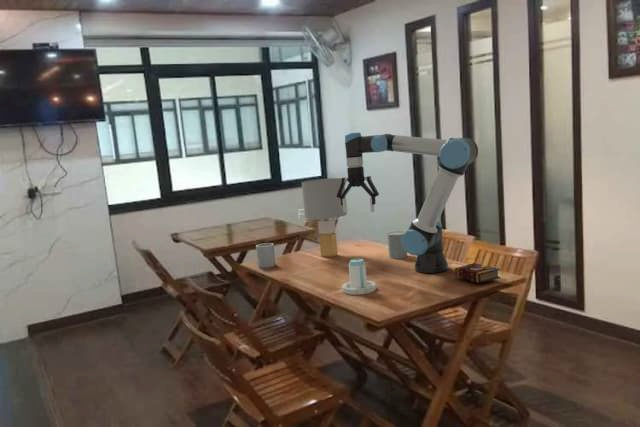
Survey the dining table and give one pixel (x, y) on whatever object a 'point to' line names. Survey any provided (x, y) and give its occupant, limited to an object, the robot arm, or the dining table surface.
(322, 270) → the dining table surface
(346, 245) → the dining table surface
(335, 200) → the lamp
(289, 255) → the dining table surface
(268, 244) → the cup
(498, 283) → the dining table surface
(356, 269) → the can
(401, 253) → the grey concrete cylinder
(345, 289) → the saucer
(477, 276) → the decorative book
